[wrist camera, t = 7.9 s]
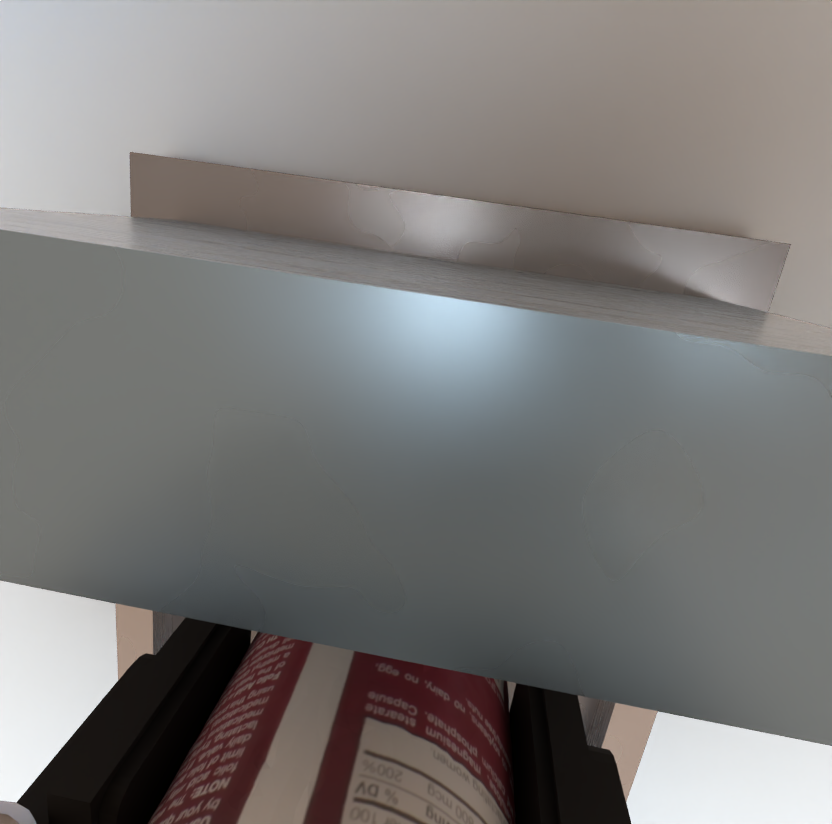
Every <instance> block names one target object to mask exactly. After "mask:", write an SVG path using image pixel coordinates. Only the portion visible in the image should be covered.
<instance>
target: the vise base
mask: <svg viewBox="0 0 832 824" xmlns="http://www.w3.org/2000/svg"><path fill="white" fill-rule="evenodd" d="M130 187H131V217H129V216H114V215H99V214H85V213H70V212H56V211H41V210H26V209H12V208H0V580H1V581H6V582H11V583H16V584H21V585H26V586H31V587H36V588H41V589H46V590H51V591H56V592H61V593H66V594H71V595H76V596H81V597H86V598H91V599H96V600H101V601H106V602H111V603H116V629H117V656H118V680H119V679H120V678H121V677H122V676H123V674H124V673H125V672H126V671H127V670H128V668H129V667H130V666H131V665H132V664H133V663H134V662H135V661H136V660H137V659H138V658H139V657H140V656H141V655H143V654H145V653H147V654H153V655H156V654H157V653H158V651H159V650H160V649H161V648H162V646H163V645H164V644H165V643H166V641H167V640H168V639H169V637H170V636H171V635H172V634H173V632H174V631H175V630H176V629H177V627H178V626H179V625H180V624H181V622H182V621H183V620H184V619H185V617H187V618H192V619H197V620H202V621H207V622H212V623H217V624H222V625H227V626H232V627H237V628H242V629H247V630H251V643H252V641H253V639H254V637H255V636H256V634H257V632H262V633H267V634H272V635H277V636H282V637H287V638H292V639H297V640H302V641H307V642H312V643H317V644H322V645H328V646H333V647H338V648H343V649H348V650H353V651H358V652H363V653H368V654H373V655H378V656H383V657H388V658H393V659H398V660H403V661H408V662H413V663H418V664H423V665H428V666H433V667H438V668H443V669H448V670H453V671H458V672H463V673H468V674H473V675H478V676H483V677H488V678H493V679H498V680H503V681H507V684H508V695H509V711H510V707H511V703H512V699H513V694H514V690H515V686H516V683H519V684H524V685H529V686H534V687H539V688H544V689H549V690H554V691H559V692H564V693H569V694H574V695H578V700H579V705H580V710H581V715H582V720H583V725H584V730H585V735H586V740H587V745H590V746H594V747H599V748H604V749H608V750H610V751H611V752H612V754H613V755H614V758H615V761H616V764H617V768H618V772H619V776H620V780H621V784H622V788H623V792H624V796H625V800H626V801H627V798H628V795H629V792H630V789H631V786H632V784H633V781H634V778H635V775H636V772H637V769H638V766H639V763H640V761H641V758H642V755H643V752H644V749H645V746H646V743H647V740H648V738H649V735H650V732H651V729H652V726H653V723H654V720H655V717H656V714H657V712H658V711H659V712H664V713H669V714H674V715H679V716H684V717H689V718H694V719H699V720H705V721H710V722H715V723H720V724H725V725H730V726H735V727H740V728H745V729H750V730H755V731H760V732H765V733H770V734H775V735H780V736H785V737H790V738H795V739H800V740H805V741H810V742H815V743H820V744H825V745H830V746H832V328H829V327H825V326H821V325H817V324H813V323H809V322H805V321H801V320H797V319H793V318H789V317H785V316H781V315H777V314H773V313H769V312H768V311H769V308H770V305H771V302H772V299H773V296H774V293H775V290H776V287H777V284H778V281H779V278H780V275H781V272H782V269H783V266H784V263H785V260H786V257H787V254H788V251H789V248H790V245H791V244H786V243H778V242H771V241H764V240H757V239H750V238H743V237H736V236H728V235H721V234H714V233H707V232H700V231H693V230H685V229H678V228H671V227H664V226H657V225H650V224H642V223H635V222H628V221H621V220H614V219H607V218H599V217H592V216H585V215H578V214H571V213H564V212H556V211H549V210H542V209H535V208H528V207H521V206H513V205H506V204H499V203H492V202H485V201H478V200H470V199H463V198H456V197H449V196H442V195H435V194H428V193H420V192H413V191H406V190H399V189H392V188H385V187H377V186H370V185H363V184H356V183H349V182H342V181H334V180H327V179H320V178H313V177H306V176H299V175H291V174H284V173H277V172H270V171H263V170H256V169H248V168H241V167H234V166H227V165H220V164H213V163H205V162H198V161H191V160H184V159H177V158H170V157H162V156H155V155H148V154H141V153H134V152H130Z"/></svg>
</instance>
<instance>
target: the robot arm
mask: <svg viewBox="0 0 832 824" xmlns="http://www.w3.org/2000/svg"><path fill="white" fill-rule="evenodd" d="M250 644H251V630H247V629H242V628H237V627H232V626H227V625H222V624H217V623H212V622H207V621H202V620H197V619H192V618H187V617H185V619H184V620H183V621H182V622H181V624H180V625H179V626H178V627H177V629H176V630H175V631H174V632H173V634H172V635H171V636H170V637H169V639H168V640H167V641H166V643H165V644H164V645H163V646H162V648H161V649H160V650H159V651H158V653H157V654H156V655H153V654H147V653H145V654H143V655H141V656H140V657H139V658H138V659H137V660H136V661H135V662H134V663H133V664H132V665H131V666H130V667H129V668H128V670H127V671H126V672H125V673H124V674H123V676H122V677H121V678H120V679H119V680H118V682H117V683H116V684H115V685H114V686H113V688H112V689H111V690H110V691H109V692H108V694H107V695H106V696H105V697H104V698H103V700H102V701H101V702H100V703H99V704H98V706H97V707H96V708H95V709H94V710H93V712H92V713H91V714H90V715H89V716H88V718H87V719H86V720H85V721H84V722H83V724H82V725H81V726H80V727H79V728H78V730H77V731H76V732H75V733H74V734H73V736H72V737H71V738H70V739H69V740H68V742H67V743H66V744H65V745H64V746H63V748H62V749H61V750H60V751H59V752H58V754H57V755H56V756H55V757H54V758H53V760H52V761H51V762H50V763H49V764H48V766H47V767H46V768H45V769H44V770H43V772H42V773H41V774H40V775H39V776H38V778H37V779H36V780H35V781H34V782H33V784H32V785H31V786H30V787H29V788H28V790H27V791H26V792H25V793H24V794H23V796H22V797H21V798H20V799H19V800H18V802H17V803H16V802H7V801H0V824H148V822H149V820H150V819H151V817H152V815H153V814H154V812H155V810H156V809H157V807H158V805H159V804H160V802H161V800H162V799H163V797H164V795H165V794H166V792H167V790H168V788H169V787H170V785H171V783H172V781H173V779H174V778H175V776H176V774H177V772H178V770H179V769H180V767H181V765H182V763H183V761H184V760H185V758H186V756H187V754H188V752H189V750H190V748H191V747H192V745H193V744H194V742H195V741H196V739H197V738H198V736H199V734H200V732H201V730H202V729H203V727H204V725H205V723H206V721H207V720H208V718H209V716H210V714H211V713H212V711H213V709H214V707H215V706H216V704H217V702H218V701H219V699H220V697H221V695H222V693H223V692H224V690H225V688H226V686H227V684H228V683H229V681H230V679H231V678H232V676H233V675H234V673H235V671H236V669H237V668H238V666H239V664H240V662H241V660H242V658H243V657H244V655H245V653H246V651H247V650H248V648H249V646H250ZM509 715H510V735H511V742H512V762H513V775H514V802H515V813H516V824H631V821H630V817H629V813H628V808H627V804H626V800H625V796H624V792H623V788H622V784H621V780H620V776H619V772H618V768H617V764H616V761H615V758H614V755H613V754H612V752H611V751H610V750H608V749H604V748H599V747H594V746H590V745H587V740H586V735H585V730H584V725H583V720H582V715H581V710H580V705H579V700H578V695H574V694H569V693H564V692H559V691H554V690H549V689H544V688H539V687H534V686H529V685H524V684H519V683H516V686H515V690H514V694H513V699H512V703H511V707H510V711H509Z"/></svg>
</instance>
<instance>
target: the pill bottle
mask: <svg viewBox="0 0 832 824" xmlns="http://www.w3.org/2000/svg"><path fill="white" fill-rule="evenodd" d="M148 824H516V813H515V802H514V775H513V762H512V742H511V735H510V715H509V695H508V684H507V681H503V680H498V679H493V678H488V677H483V676H478V675H473V674H468V673H463V672H458V671H453V670H448V669H443V668H438V667H433V666H428V665H423V664H418V663H413V662H408V661H403V660H398V659H393V658H388V657H383V656H378V655H373V654H368V653H363V652H358V651H353V650H348V649H343V648H338V647H333V646H328V645H322V644H317V643H312V642H307V641H302V640H297V639H292V638H287V637H282V636H277V635H272V634H267V633H262V632H257V634H256V636H255V637H254V639H253V641H252V643H251V644H250V646H249V648H248V650H247V651H246V653H245V655H244V657H243V658H242V660H241V662H240V664H239V666H238V668H237V669H236V671H235V673H234V675H233V676H232V678H231V679H230V681H229V683H228V684H227V686H226V688H225V690H224V692H223V693H222V695H221V697H220V699H219V701H218V702H217V704H216V706H215V707H214V709H213V711H212V713H211V714H210V716H209V718H208V720H207V721H206V723H205V725H204V727H203V729H202V730H201V732H200V734H199V736H198V738H197V739H196V741H195V742H194V744H193V745H192V747H191V748H190V750H189V752H188V754H187V756H186V758H185V760H184V761H183V763H182V765H181V767H180V769H179V770H178V772H177V774H176V776H175V778H174V779H173V781H172V783H171V785H170V787H169V788H168V790H167V792H166V794H165V795H164V797H163V799H162V800H161V802H160V804H159V805H158V807H157V809H156V810H155V812H154V814H153V815H152V817H151V819H150V820H149V822H148Z"/></svg>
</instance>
